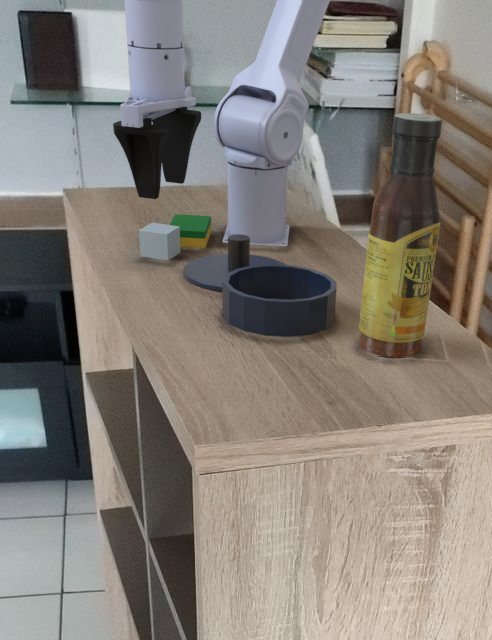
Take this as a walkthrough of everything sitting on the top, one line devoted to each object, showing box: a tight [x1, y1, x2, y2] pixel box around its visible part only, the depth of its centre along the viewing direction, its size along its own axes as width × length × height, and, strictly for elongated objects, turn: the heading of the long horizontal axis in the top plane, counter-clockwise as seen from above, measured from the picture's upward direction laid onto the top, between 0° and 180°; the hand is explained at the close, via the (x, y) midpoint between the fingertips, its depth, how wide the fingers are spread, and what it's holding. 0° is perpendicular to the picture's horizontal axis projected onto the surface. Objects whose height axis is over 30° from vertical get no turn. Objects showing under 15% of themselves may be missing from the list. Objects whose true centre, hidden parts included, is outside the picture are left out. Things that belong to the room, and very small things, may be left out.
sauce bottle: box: [358, 112, 443, 359], centre depth 80 cm, size 6×6×20 cm
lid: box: [183, 234, 288, 293], centre depth 99 cm, size 12×12×5 cm
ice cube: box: [138, 222, 181, 261], centre depth 104 cm, size 4×4×4 cm
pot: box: [222, 264, 338, 338], centre depth 90 cm, size 11×11×4 cm
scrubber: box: [169, 213, 212, 249], centre depth 110 cm, size 7×4×2 cm, turn 179°
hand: (162, 189), depth 100 cm, fingers open, 7 cm apart
